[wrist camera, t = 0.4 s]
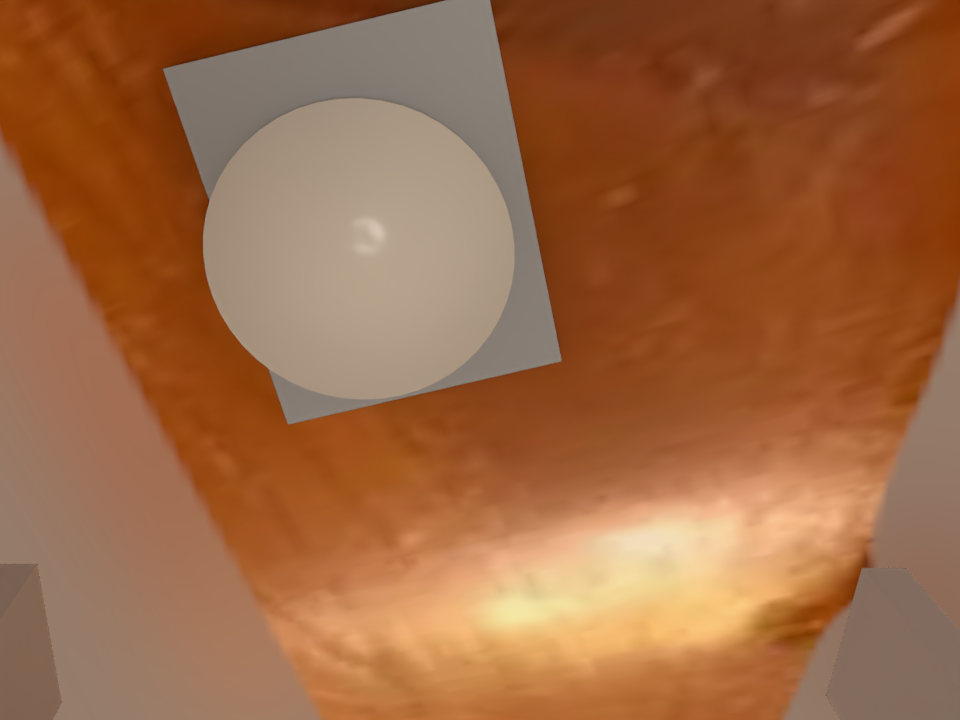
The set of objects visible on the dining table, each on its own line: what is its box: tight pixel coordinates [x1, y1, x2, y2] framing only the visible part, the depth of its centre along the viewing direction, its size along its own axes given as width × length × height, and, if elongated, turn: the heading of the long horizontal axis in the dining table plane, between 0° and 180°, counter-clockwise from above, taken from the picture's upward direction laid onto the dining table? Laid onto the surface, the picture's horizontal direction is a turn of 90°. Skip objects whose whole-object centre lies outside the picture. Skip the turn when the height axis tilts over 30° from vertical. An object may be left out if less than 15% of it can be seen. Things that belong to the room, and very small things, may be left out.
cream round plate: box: [203, 97, 515, 400], centre depth 36 cm, size 13×13×1 cm
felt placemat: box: [163, 0, 562, 424], centre depth 36 cm, size 16×13×1 cm
